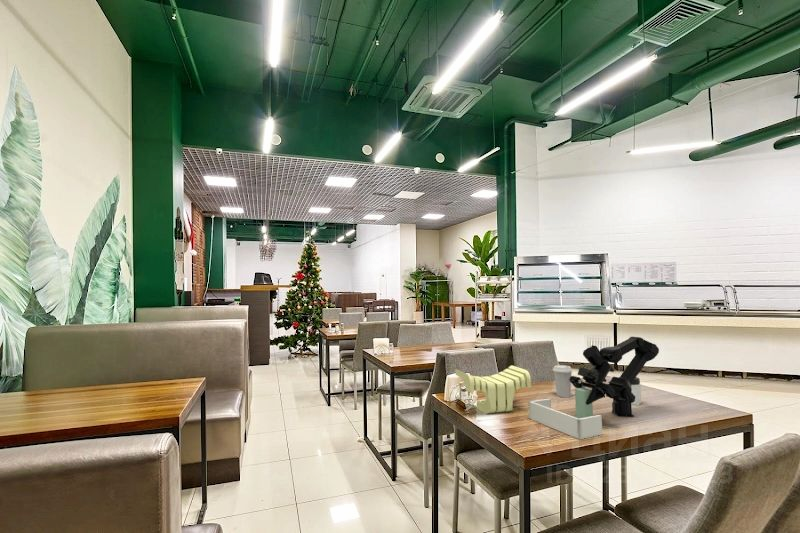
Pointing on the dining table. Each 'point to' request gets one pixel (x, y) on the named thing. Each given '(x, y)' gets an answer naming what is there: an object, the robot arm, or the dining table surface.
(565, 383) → the coffee cup
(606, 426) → the dining table surface
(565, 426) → the cream u-shaped wall
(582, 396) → the block
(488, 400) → the slatted curved stool
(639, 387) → the jar
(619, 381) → the robot arm
